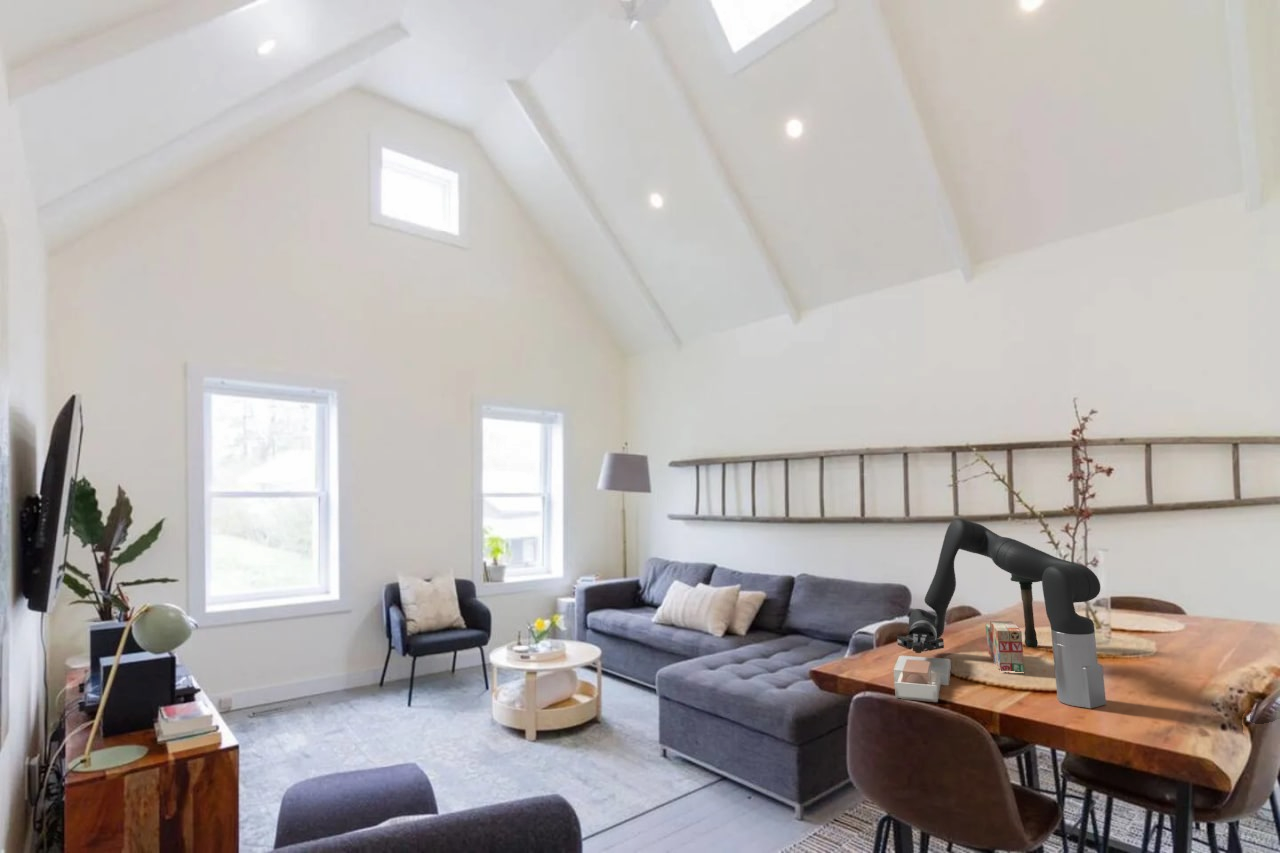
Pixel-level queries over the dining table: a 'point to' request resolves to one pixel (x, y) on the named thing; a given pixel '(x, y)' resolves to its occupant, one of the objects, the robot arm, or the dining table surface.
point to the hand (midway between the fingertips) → (917, 649)
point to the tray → (917, 690)
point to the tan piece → (917, 672)
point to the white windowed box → (937, 668)
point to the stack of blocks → (1005, 645)
